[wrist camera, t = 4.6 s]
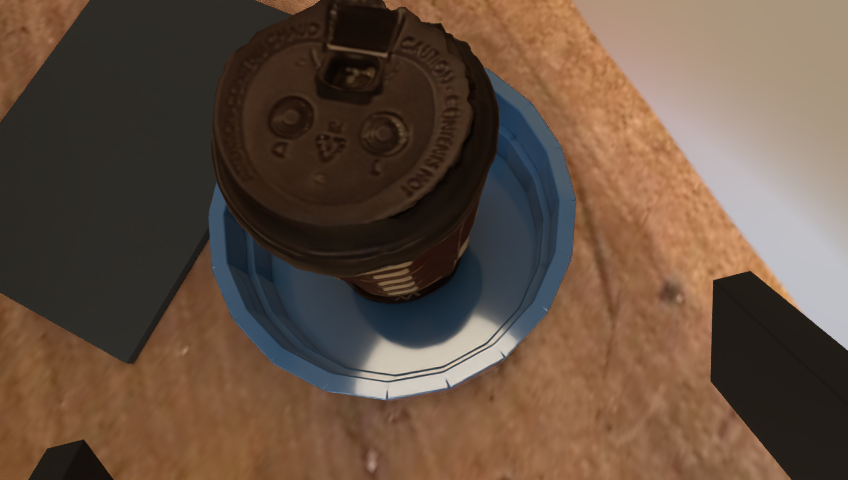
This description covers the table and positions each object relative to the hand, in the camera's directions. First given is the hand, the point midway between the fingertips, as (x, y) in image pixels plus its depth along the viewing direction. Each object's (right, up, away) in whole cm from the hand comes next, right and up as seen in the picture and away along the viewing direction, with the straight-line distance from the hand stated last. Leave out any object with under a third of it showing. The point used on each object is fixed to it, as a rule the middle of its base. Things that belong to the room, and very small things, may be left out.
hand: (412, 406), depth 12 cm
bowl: (-1, +3, +16) cm, 16 cm away
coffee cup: (-1, +3, +16) cm, 16 cm away
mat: (-16, +9, +19) cm, 26 cm away
